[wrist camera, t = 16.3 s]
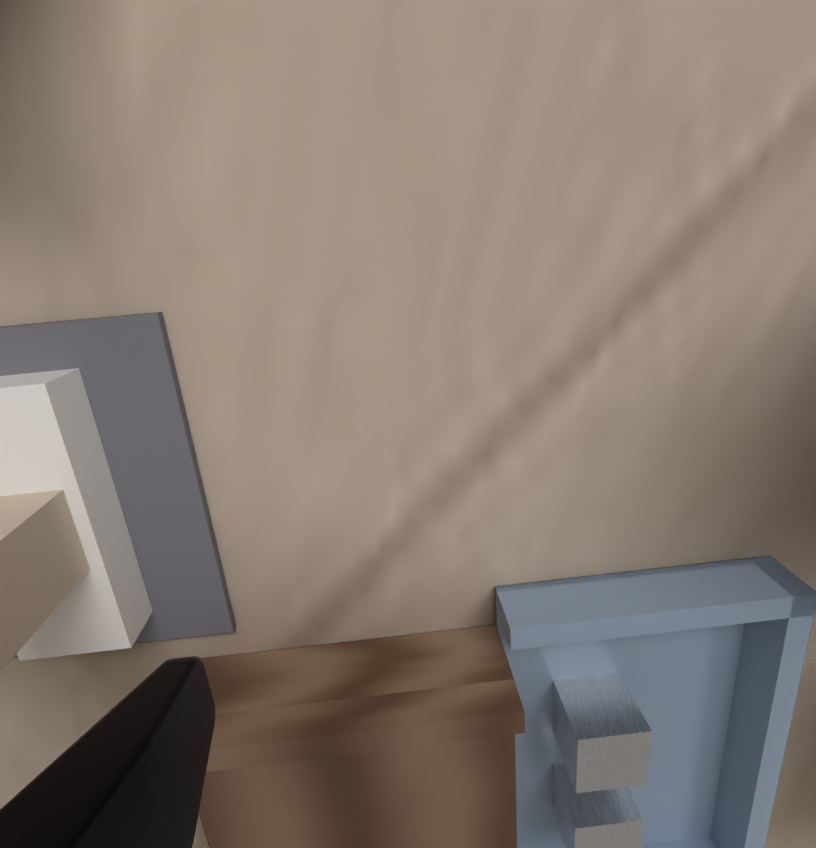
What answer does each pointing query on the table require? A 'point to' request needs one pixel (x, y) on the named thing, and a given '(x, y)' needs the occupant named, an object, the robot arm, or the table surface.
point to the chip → (600, 733)
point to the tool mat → (141, 458)
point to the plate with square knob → (61, 527)
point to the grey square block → (594, 815)
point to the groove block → (365, 745)
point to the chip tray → (667, 688)
